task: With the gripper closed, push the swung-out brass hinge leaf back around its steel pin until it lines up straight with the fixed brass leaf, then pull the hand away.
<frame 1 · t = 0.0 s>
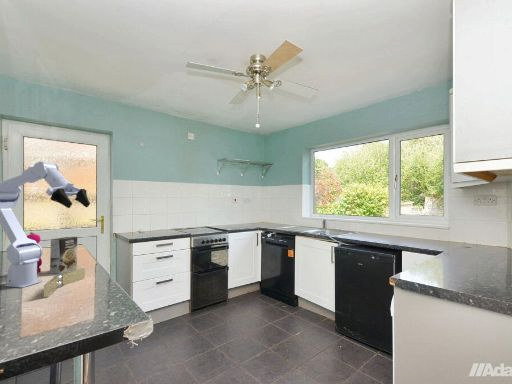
hand: (79, 205, 101), 32 cm above the counter, tool tilted 50°, fingers open, 7 cm apart
hinge base: (57, 287, 103), on the counter
swing leaf: (52, 285, 98), point 2 cm above the counter, hinge at 35.0°
pepper mill: (32, 273, 123), on the counter
coffee box: (64, 271, 126), on the counter
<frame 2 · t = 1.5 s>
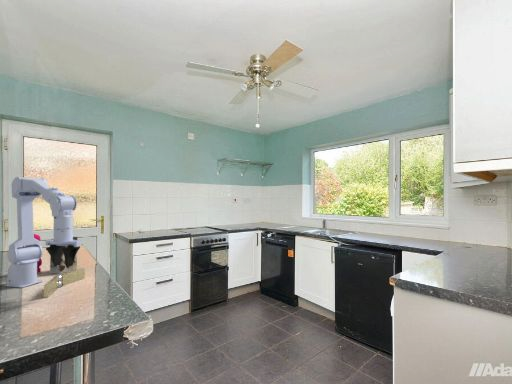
hand: (63, 265, 95), 10 cm above the counter, tool pointing down, fingers open, 5 cm apart
nothing on the counter moved.
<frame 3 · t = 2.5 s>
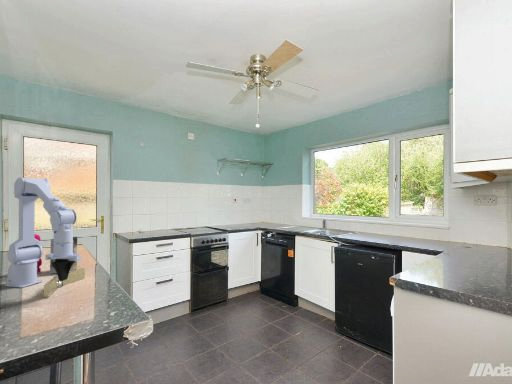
hand: (63, 279, 95), 5 cm above the counter, tool pointing down, fingers closed
nothing on the counter moved.
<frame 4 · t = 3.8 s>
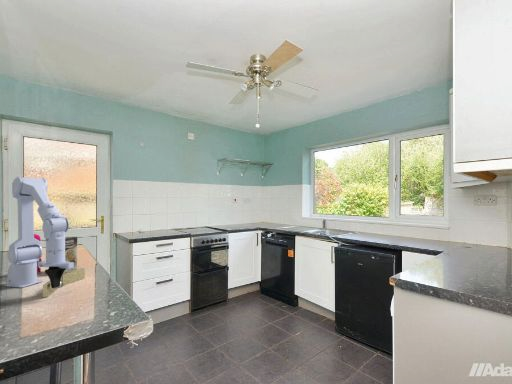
hand: (55, 287, 96), 2 cm above the counter, tool pointing down, fingers closed, pressing on swing leaf
swing leaf: (52, 285, 98), point 2 cm above the counter, hinge at 33.7°, touching gripper
everything else where it was.
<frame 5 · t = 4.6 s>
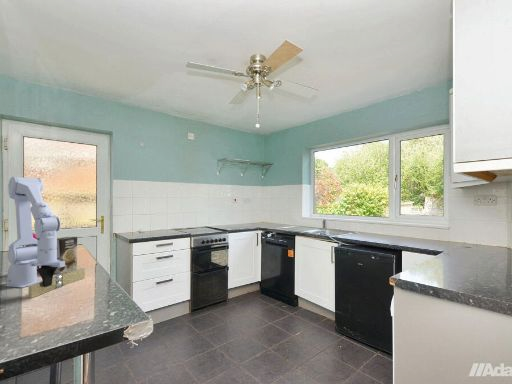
hand: (47, 286, 97), 3 cm above the counter, tool pointing down, fingers closed, pressing on swing leaf
swing leaf: (46, 285, 98), point 2 cm above the counter, hinge at 9.7°, touching gripper
everything else where it was.
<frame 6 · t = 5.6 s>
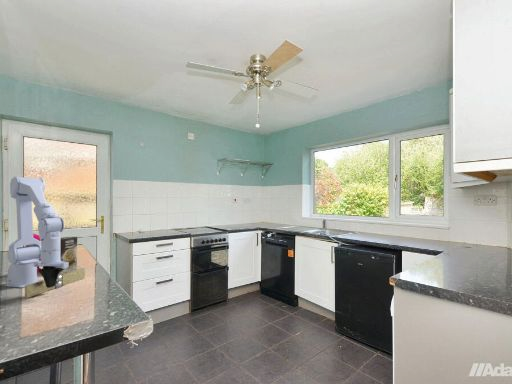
hand: (50, 286, 97), 2 cm above the counter, tool pointing down, fingers closed
swing leaf: (44, 285, 98), point 2 cm above the counter, hinge at 1.8°
everything else where it was.
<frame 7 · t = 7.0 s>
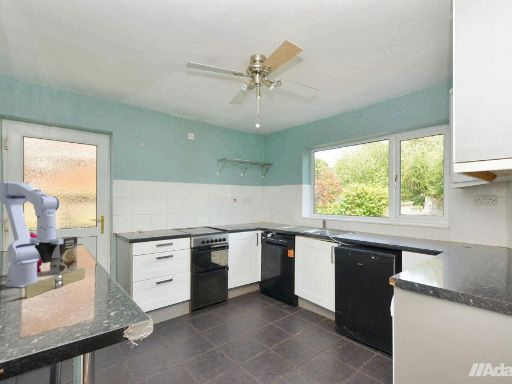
hand: (46, 262, 101), 10 cm above the counter, tool pointing down, fingers closed
nothing on the counter moved.
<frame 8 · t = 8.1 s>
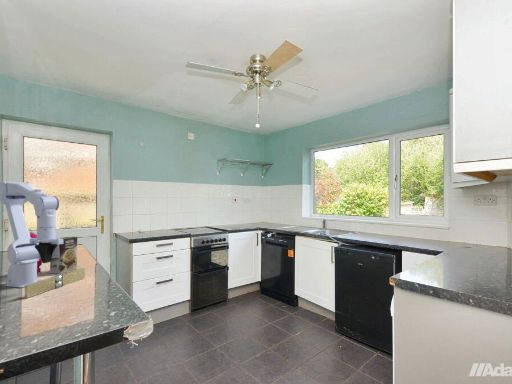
hand: (46, 262, 101), 10 cm above the counter, tool pointing down, fingers closed
nothing on the counter moved.
at the end: swing leaf at +2° (first picture: +35°); coffee box moved 0.2 cm from its start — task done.
